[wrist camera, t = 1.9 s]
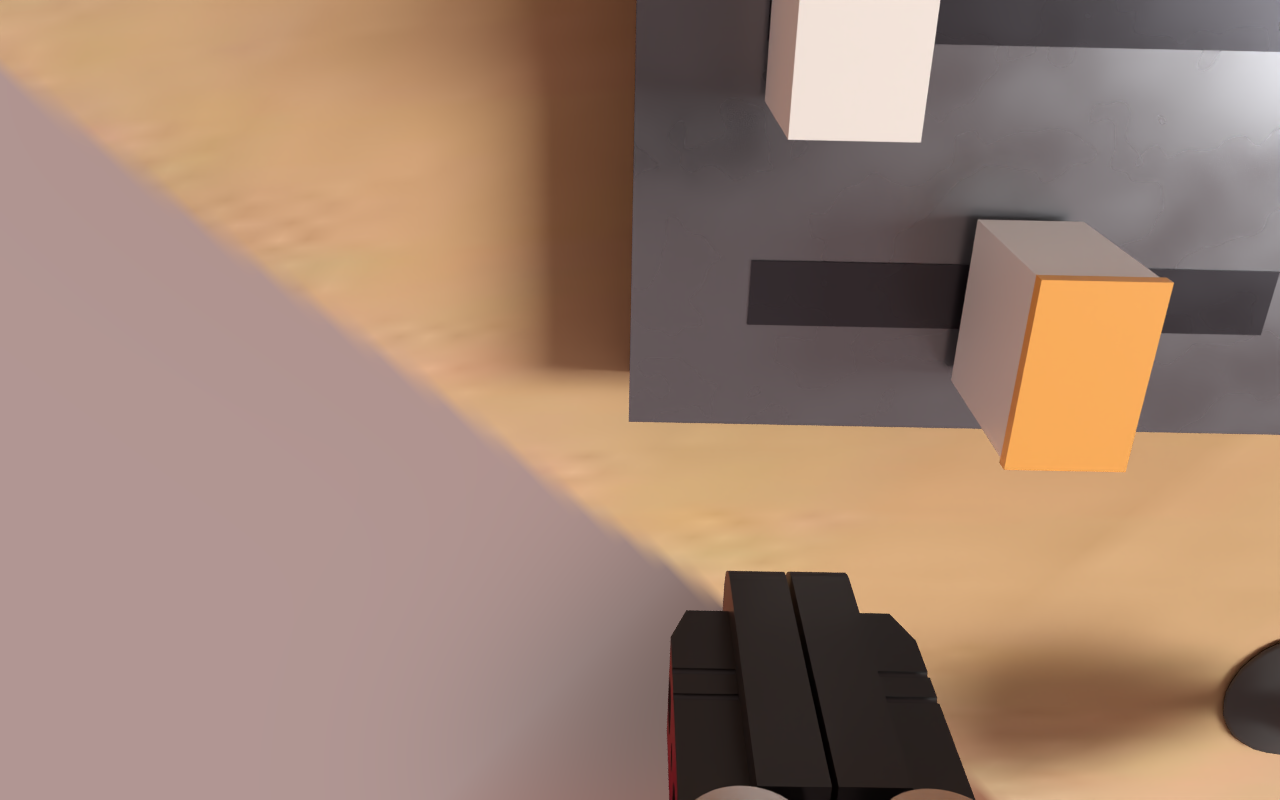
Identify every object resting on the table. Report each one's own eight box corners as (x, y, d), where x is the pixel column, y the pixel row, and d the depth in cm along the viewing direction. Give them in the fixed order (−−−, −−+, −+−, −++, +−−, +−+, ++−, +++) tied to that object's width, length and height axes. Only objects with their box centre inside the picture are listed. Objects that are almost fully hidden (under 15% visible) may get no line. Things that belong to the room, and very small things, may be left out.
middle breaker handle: (900, -103, 21) (954, -104, 17) (875, 103, 22) (920, 142, 19) (779, -106, 21) (808, -107, 17) (765, 100, 22) (788, 139, 19)
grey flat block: (1568, -542, 20) (1713, -611, 18) (1275, 386, 29) (1341, 436, 26) (647, -566, 20) (648, -640, 17) (630, 372, 29) (628, 422, 26)
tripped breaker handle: (1086, 219, 23) (1174, 282, 20) (1051, 384, 25) (1125, 471, 21) (975, 217, 23) (1041, 280, 20) (948, 382, 25) (1003, 470, 21)
